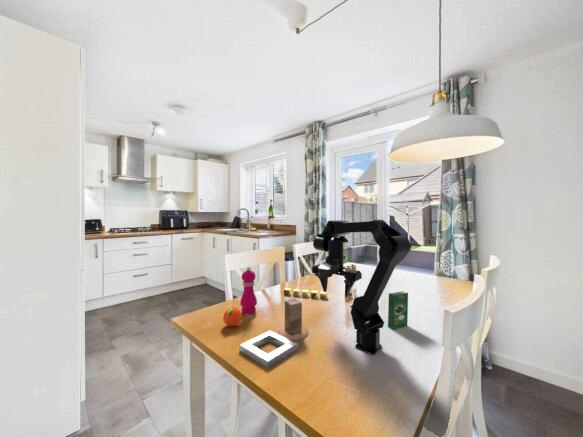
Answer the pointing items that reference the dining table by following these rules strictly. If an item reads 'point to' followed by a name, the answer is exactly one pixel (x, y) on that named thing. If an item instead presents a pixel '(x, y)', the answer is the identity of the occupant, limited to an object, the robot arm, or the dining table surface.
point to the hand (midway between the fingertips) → (335, 294)
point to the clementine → (232, 316)
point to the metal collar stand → (273, 357)
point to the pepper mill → (248, 293)
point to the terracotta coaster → (294, 337)
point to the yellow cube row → (305, 293)
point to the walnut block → (293, 316)
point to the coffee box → (398, 310)
